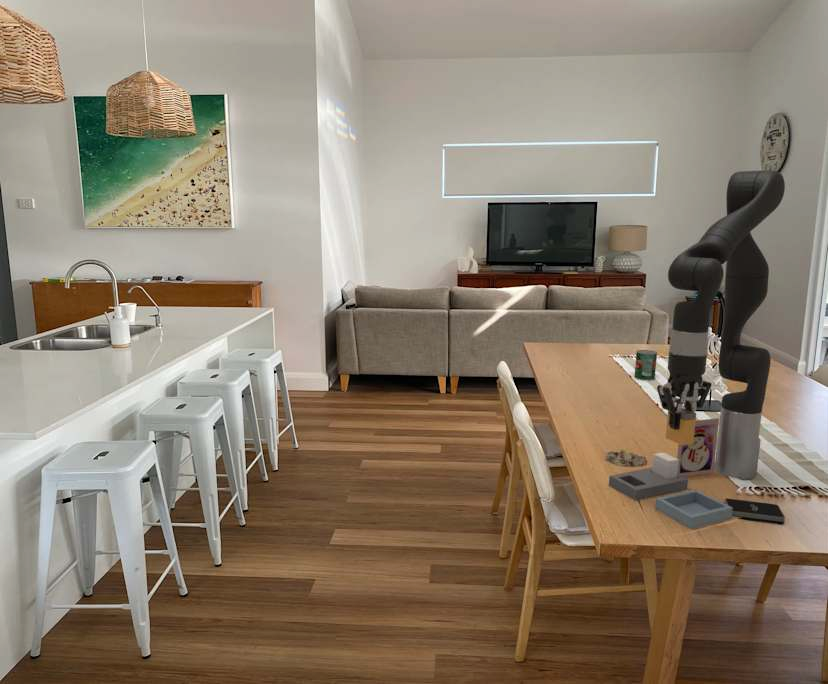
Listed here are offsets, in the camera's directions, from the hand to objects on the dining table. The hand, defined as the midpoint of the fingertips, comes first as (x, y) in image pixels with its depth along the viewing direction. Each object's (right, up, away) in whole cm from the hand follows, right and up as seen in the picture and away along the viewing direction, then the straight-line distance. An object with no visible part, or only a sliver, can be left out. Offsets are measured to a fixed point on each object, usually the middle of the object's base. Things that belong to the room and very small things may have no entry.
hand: (680, 427), depth 141 cm
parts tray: (+3, -19, 0) cm, 20 cm away
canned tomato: (+35, +4, +119) cm, 124 cm away
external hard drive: (+17, -20, +1) cm, 26 cm away
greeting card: (+12, -15, +24) cm, 31 cm away
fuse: (+2, -16, +16) cm, 22 cm away
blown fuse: (0, -3, +1) cm, 3 cm away
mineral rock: (-2, -14, +30) cm, 33 cm away
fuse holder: (-2, -17, +14) cm, 22 cm away
